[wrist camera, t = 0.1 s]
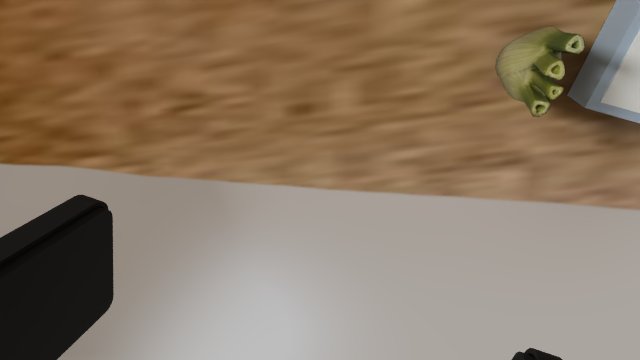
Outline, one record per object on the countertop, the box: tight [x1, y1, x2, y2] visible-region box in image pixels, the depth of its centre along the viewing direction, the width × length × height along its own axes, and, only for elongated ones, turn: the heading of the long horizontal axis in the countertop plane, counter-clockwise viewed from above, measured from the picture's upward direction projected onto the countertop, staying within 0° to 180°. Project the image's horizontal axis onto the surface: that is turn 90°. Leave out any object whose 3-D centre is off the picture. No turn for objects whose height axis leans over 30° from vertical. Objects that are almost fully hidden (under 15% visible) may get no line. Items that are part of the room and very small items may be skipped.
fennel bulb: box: [495, 26, 585, 117], centre depth 33 cm, size 6×5×12 cm
